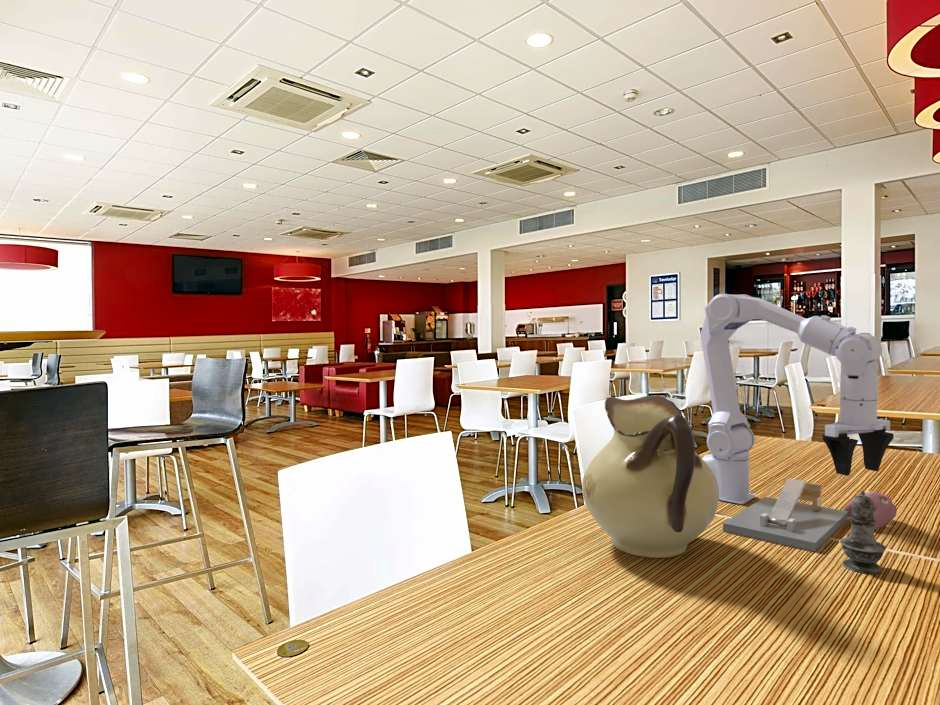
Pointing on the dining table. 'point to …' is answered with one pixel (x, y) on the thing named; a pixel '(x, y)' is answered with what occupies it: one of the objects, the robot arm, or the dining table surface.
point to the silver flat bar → (786, 502)
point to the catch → (812, 495)
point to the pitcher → (650, 480)
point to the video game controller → (878, 508)
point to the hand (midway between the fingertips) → (857, 472)
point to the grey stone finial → (862, 538)
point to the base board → (788, 524)
